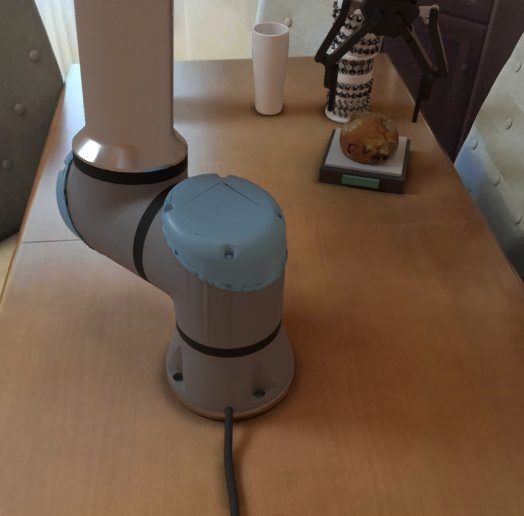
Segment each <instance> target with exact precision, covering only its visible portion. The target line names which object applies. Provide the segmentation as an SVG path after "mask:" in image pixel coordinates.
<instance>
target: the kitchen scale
mask: <svg viewBox="0 0 524 516" xmlns="http://www.w3.org/2000/svg"><path fill="white" fill-rule="evenodd" d="M341 128H342V127H341ZM341 128H340V127H336V129H334V128H333V129H332V131H331V134H330V137H329V139H328V143H327V145H326V149H325V151H324V154H323V157H322V160H321V163H320V167H319V173H318V182H320V183H326V184H333V185H338V186H346V187H353V188H359V189H360V188H361V189H366V190H373V191H380V192H387V193H394V194H399V195H402V194H403V191H404V186H405V183H406V175H407V168H408V161H409V155H410V149H411V141H412V140H411V138H409V139H408V136H401V135H399V143H398V148H397V151H396V152H395V153H394V154H393V156H392V157H390V158H389V159H388V160H386V161H384V162H382V163H379V164H378V163H375V164H365V163H357V162H354V161H352V160H350V159H349V158H347V157H346V156H345V155H344V154H343V152H342V150H341V148H340V142H339V138H340V131H341Z"/></svg>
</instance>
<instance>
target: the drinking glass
mask: <svg viewBox="0 0 524 516" xmlns="http://www.w3.org/2000/svg"><path fill="white" fill-rule="evenodd" d="M289 51H290V28H289V27H288V26H287V25H286V24H283V23H280V22H274V21H266V22H260V23H256V24H255V25H253V27H252V29H251V58H252V59H251V60H252V61H251V62H252V73H253V85H254V88H253V89H254V108H255V111H257V113H259V114H261V115H264V116H273V115H274V116H275V115H277V114H280V113H281V111H282V110H283V105H284V104H283V101H284V92H285V84H286V76H287V69H288V60H289Z"/></svg>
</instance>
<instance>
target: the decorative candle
mask: <svg viewBox="0 0 524 516" xmlns="http://www.w3.org/2000/svg"><path fill="white" fill-rule="evenodd" d="M342 2H343V0H336V1H333V4H332V6H333V10H332V15H331V17H332V18H333V20H334V21H333V22H332V25H333V24H334V22H335V20H336V19H337V17H338V15H339V14H340V10H341V6H342ZM364 20H365V19H364V17H363V15H362V13H361V11H360V9H357V10H356V11H355V12H354V14H353V15H348V16H347V19H346V21H345V23H344V24H343V26H342V28H341V29H340V31H339V33H338V34H337V36H336V38H335V39H334V41H333V43H332V44H331V46H330V51H331V53H332V52H333V51H334V50H335V49H336V48H337V47H338V46H339V45H340V44H341V43H342V42H343V41H344V40H345V39H346V38H347V37H348V36H349V35H350V34H351V33H352V32H353V31H354V30H355V29H356V28H357V27H358V26H359V25H360V24H361V23H362V22H363V21H364ZM374 35H375V34H373V33H372V32H371V31H370V32H369V33H368V34H367V35H365V36H364V37H363V38H362V39H361V40H360V41H358V42H357V43H356V44H355V45H354V46H353V47H352V48H351V49H350V50H349V51H348V52H347V53H346V54H345V55H344V56H343V57H342V58H341V59H340V60H339V61H338V62H337V64H339V71H338V79H337V88H336V96H335V104H334V107H333V110H332V112H331V111H327V110H328V101H329V92H330V88H327V89H328V90H327V92H326V95H325V98H326V100H325V103H324V104H325V110H324V113H325V115H326V117H327V118H329V119H331V120H332V121H334V122H338V123H342V124H345V123H346V122H347V121H348V120H349V119H350V118H352V117H353V116H355V114H357V113H363V112H369V110H370V108H369V107H370V106H371V105H370V103H371V99H372V97H371V95H370V94H372V91H373V87H372V86H373V84H374V78H373V71H374V67H373V66H374V61H375V60H374V59H375V57H376V56H377V55H378V52H379V50H380V49H379V48H380V47H379V46H378V44H380V43H381V36H374Z"/></svg>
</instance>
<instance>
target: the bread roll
mask: <svg viewBox="0 0 524 516" xmlns="http://www.w3.org/2000/svg"><path fill="white" fill-rule="evenodd" d="M399 136H400V133H399V130H398V127H397V125H396V123H395V121H393V120H392V119H391V118H390V117H389V116H386V115H384V114H382V113H380V112H376V111H368V112H363V113H357V114H355V116H353V117H352V118H350V119H349V120H348V121H347V122H346V123H343V125H342V126H341V131H340V138H339V142H340V148H341V150H342V152H343V154H344V155H345V156H346V157H347V158H349V159H350V160H352V161H354V162H357V163H365V164H375V163H378V164H379V163H382V162H384V161H386V160H388V159H389V158H390V157H392V156H393V154H394V153H395V152H396V151H397V148H398V143H399Z"/></svg>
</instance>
